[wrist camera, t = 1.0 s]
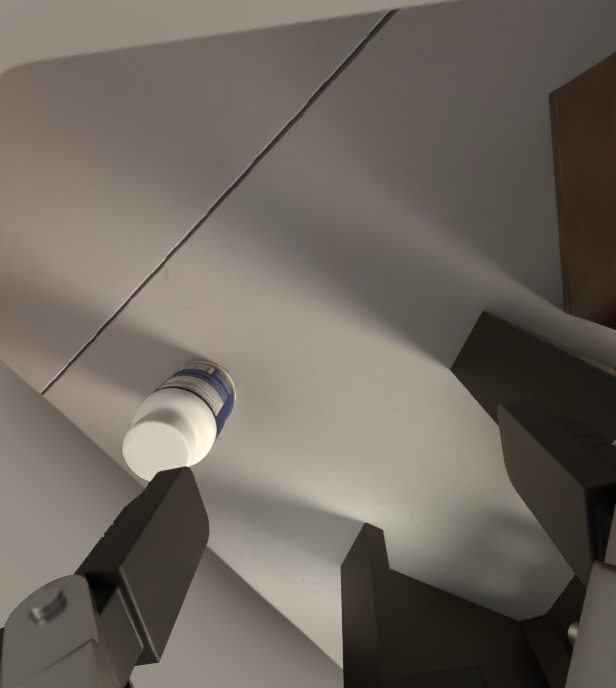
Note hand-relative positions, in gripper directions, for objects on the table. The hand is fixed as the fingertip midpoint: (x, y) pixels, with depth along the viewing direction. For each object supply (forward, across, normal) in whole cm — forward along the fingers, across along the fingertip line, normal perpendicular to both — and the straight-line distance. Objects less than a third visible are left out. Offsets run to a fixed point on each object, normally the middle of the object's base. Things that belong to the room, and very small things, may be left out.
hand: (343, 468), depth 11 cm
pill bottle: (+22, +12, +4) cm, 25 cm away
